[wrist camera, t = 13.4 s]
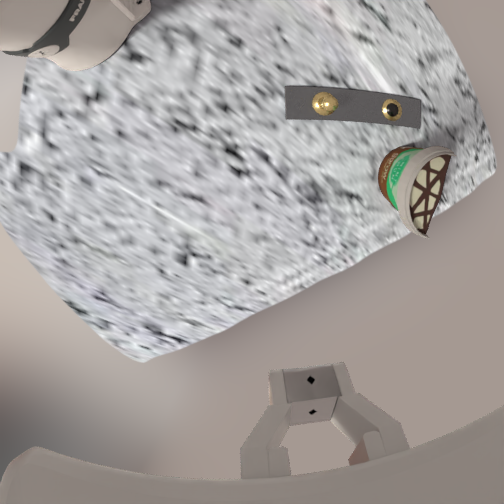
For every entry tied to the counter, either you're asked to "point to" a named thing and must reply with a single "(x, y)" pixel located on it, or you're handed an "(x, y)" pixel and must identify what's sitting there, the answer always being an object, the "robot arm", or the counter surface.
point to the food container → (414, 183)
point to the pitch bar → (351, 106)
